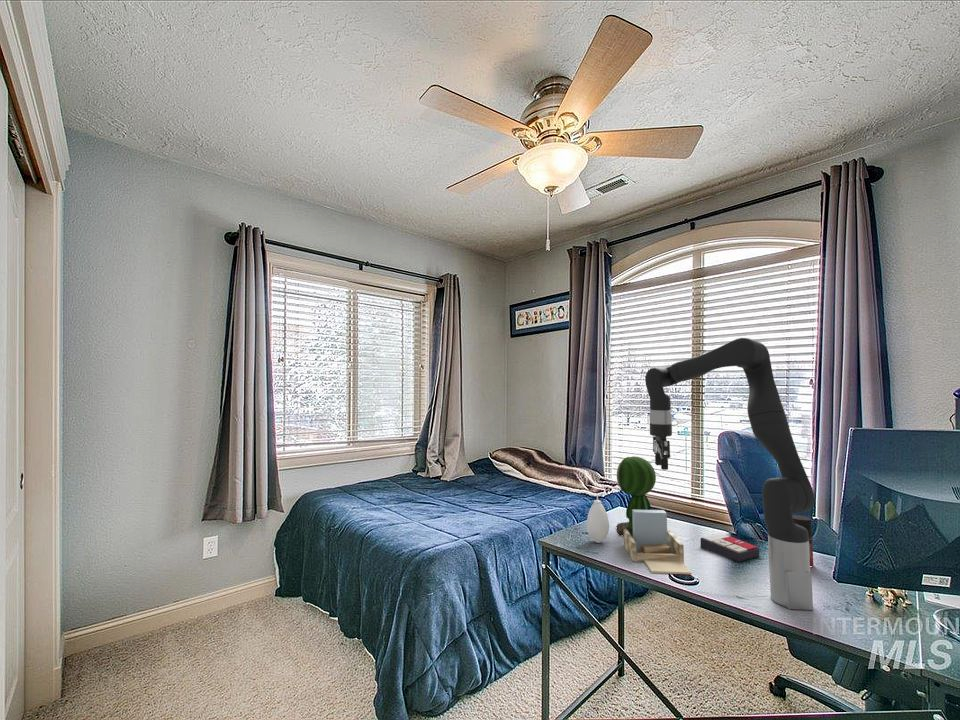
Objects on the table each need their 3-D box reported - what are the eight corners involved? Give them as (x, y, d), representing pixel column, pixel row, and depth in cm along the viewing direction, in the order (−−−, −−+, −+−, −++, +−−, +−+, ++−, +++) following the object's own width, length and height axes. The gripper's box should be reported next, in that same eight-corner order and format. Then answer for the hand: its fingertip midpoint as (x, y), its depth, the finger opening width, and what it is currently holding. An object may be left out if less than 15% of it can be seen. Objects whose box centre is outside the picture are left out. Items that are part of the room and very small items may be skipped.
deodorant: (798, 559, 150) (796, 514, 151) (817, 565, 145) (815, 519, 146) (787, 562, 148) (785, 516, 149) (806, 568, 142) (803, 521, 143)
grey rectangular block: (667, 553, 156) (666, 513, 157) (635, 552, 157) (634, 512, 158) (664, 549, 159) (663, 510, 160) (633, 548, 161) (632, 509, 161)
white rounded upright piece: (598, 547, 162) (597, 497, 163) (583, 540, 169) (582, 492, 170) (613, 543, 166) (612, 494, 167) (598, 537, 173) (597, 490, 174)
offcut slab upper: (670, 553, 151) (670, 547, 151) (645, 555, 150) (645, 548, 150) (665, 550, 154) (665, 544, 154) (641, 551, 153) (640, 545, 153)
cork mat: (691, 574, 139) (691, 572, 139) (651, 572, 140) (651, 570, 140) (681, 563, 147) (681, 561, 148) (644, 561, 149) (644, 559, 149)
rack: (684, 563, 147) (683, 544, 148) (633, 561, 149) (632, 543, 149) (670, 547, 162) (669, 530, 162) (623, 545, 164) (623, 529, 164)
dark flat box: (739, 551, 149) (699, 535, 162) (739, 564, 149) (699, 547, 162) (759, 546, 153) (719, 531, 167) (759, 558, 153) (719, 542, 167)
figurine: (625, 522, 191) (623, 452, 193) (672, 532, 178) (670, 457, 180) (606, 532, 179) (604, 456, 181) (655, 543, 165) (652, 462, 167)
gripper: (677, 424, 154) (678, 471, 154) (666, 420, 169) (667, 463, 168) (654, 424, 156) (655, 471, 155) (645, 420, 170) (646, 463, 169)
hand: (661, 467), depth 161 cm, fingers open, 8 cm apart
